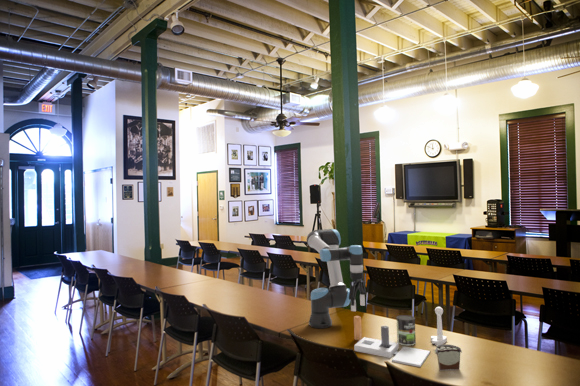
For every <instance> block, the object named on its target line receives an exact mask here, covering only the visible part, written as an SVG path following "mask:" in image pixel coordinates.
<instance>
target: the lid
mask: <svg viewBox="0 0 580 386" xmlns="http://www.w3.org/2000/svg"><path fill="white" fill-rule="evenodd" d="M430 354H431V350H428V349H427V350H426V349H421V348H416V347H412V346H405V345H402V347H401V348H400V350H399V351H398V350H397V351H395V352H394V353H393V356H394V357H392V358H391V362H392V363H398V364H402V365H407V366H412V367H417V368H421V367H422V365H423V364H424V363H425V361H426V360H427V358H428V357H429V355H430Z"/></svg>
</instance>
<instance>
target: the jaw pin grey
mask: <svg viewBox="0 0 580 386" xmlns="http://www.w3.org/2000/svg"><path fill="white" fill-rule="evenodd" d="M380 337H381V338H380V340H381V342H382V347H383V348H389V342H390V330H389V326H387V325H381V326H380Z"/></svg>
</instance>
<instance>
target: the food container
mask: <svg viewBox="0 0 580 386" xmlns="http://www.w3.org/2000/svg"><path fill="white" fill-rule="evenodd" d="M434 352H435V354H436V355H437V363H438V364H437V366H438V369H439V372H441V371H458V370H459V371H460V368H461V367H460V366H461V365H460V364H461V353H463V352H462V349H461V347H459V346H457V345H454V344H446V343H444V344H442V345H438V346H436V347H435V351H434Z"/></svg>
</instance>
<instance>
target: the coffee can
mask: <svg viewBox="0 0 580 386" xmlns="http://www.w3.org/2000/svg"><path fill="white" fill-rule="evenodd" d="M395 318H396V340H397V341H396V343H399V345H401V346H405V347H412V346H415V345H416V344H417V342H416V340H417V339H416V337H417V336H416V317H414V316H413V315H408V314H400V315H397V316H396V317H395ZM414 344H415V345H414ZM411 345H412V346H411Z"/></svg>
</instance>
